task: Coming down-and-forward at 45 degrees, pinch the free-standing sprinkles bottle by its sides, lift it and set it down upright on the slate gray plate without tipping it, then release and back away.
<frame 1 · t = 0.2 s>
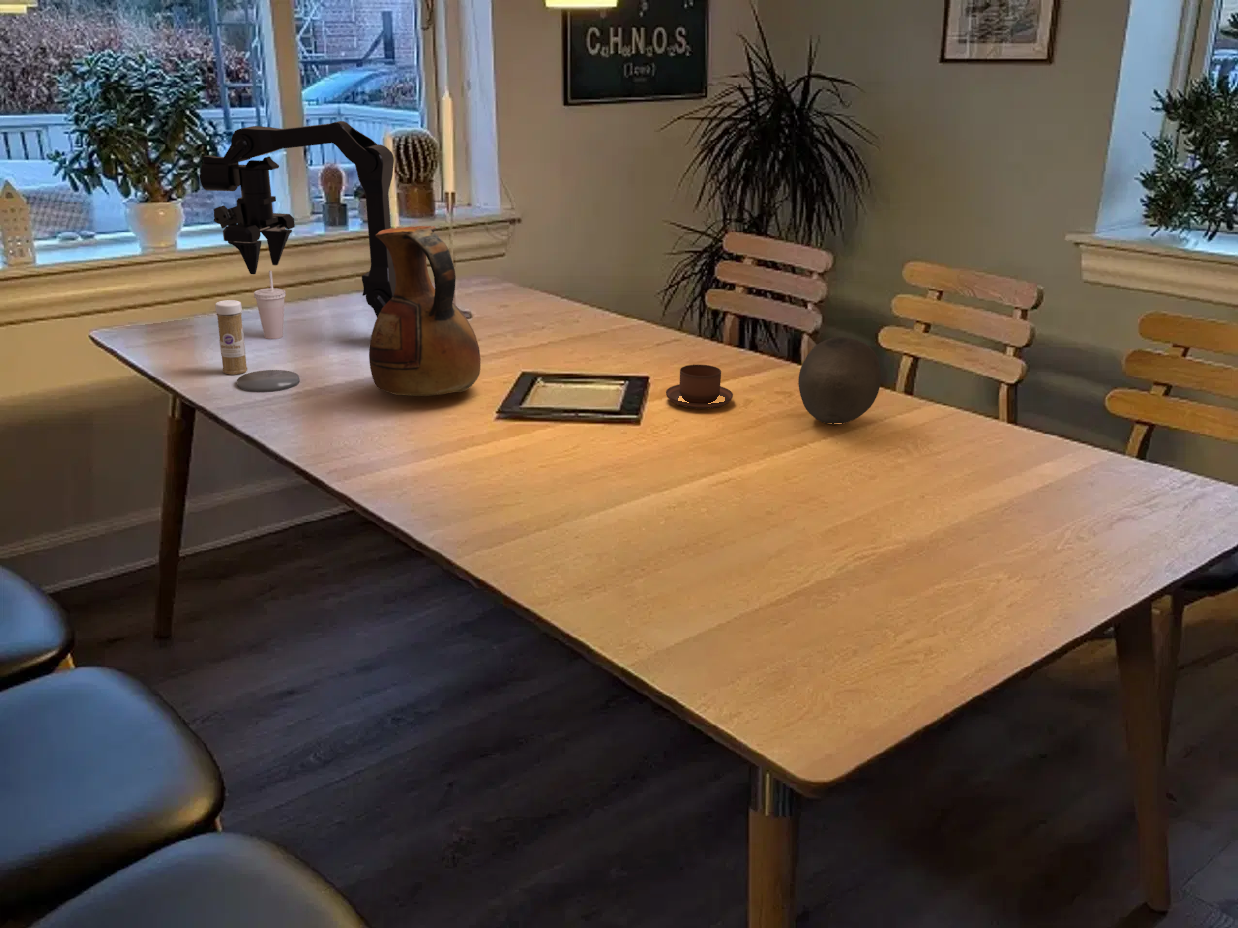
hand: (264, 269, 229), 14 cm above the table, tool pointing down, fingers open, 9 cm apart
cup and saucer: (698, 404, 200), on the table
slate gray plate: (268, 382, 205), on the table
ceramic pitcher: (427, 393, 202), on the table
sprinkles bottle: (235, 372, 211), on the table
smoothie: (273, 337, 235), on the table
dark charcoal ball: (835, 425, 190), on the table
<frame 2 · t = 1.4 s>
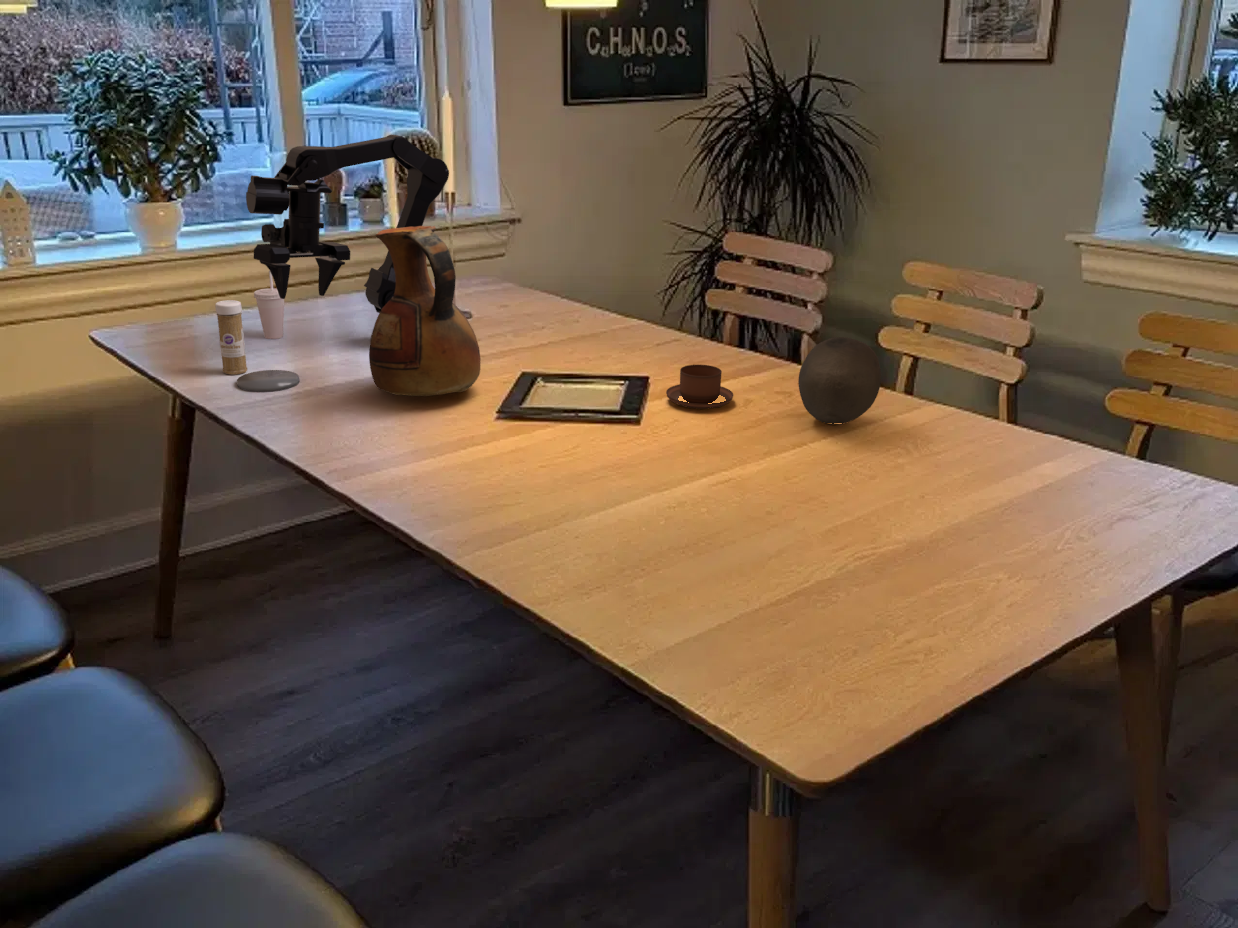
hand: (302, 297, 216), 12 cm above the table, tool pointing down, fingers open, 9 cm apart
nothing on the table moved.
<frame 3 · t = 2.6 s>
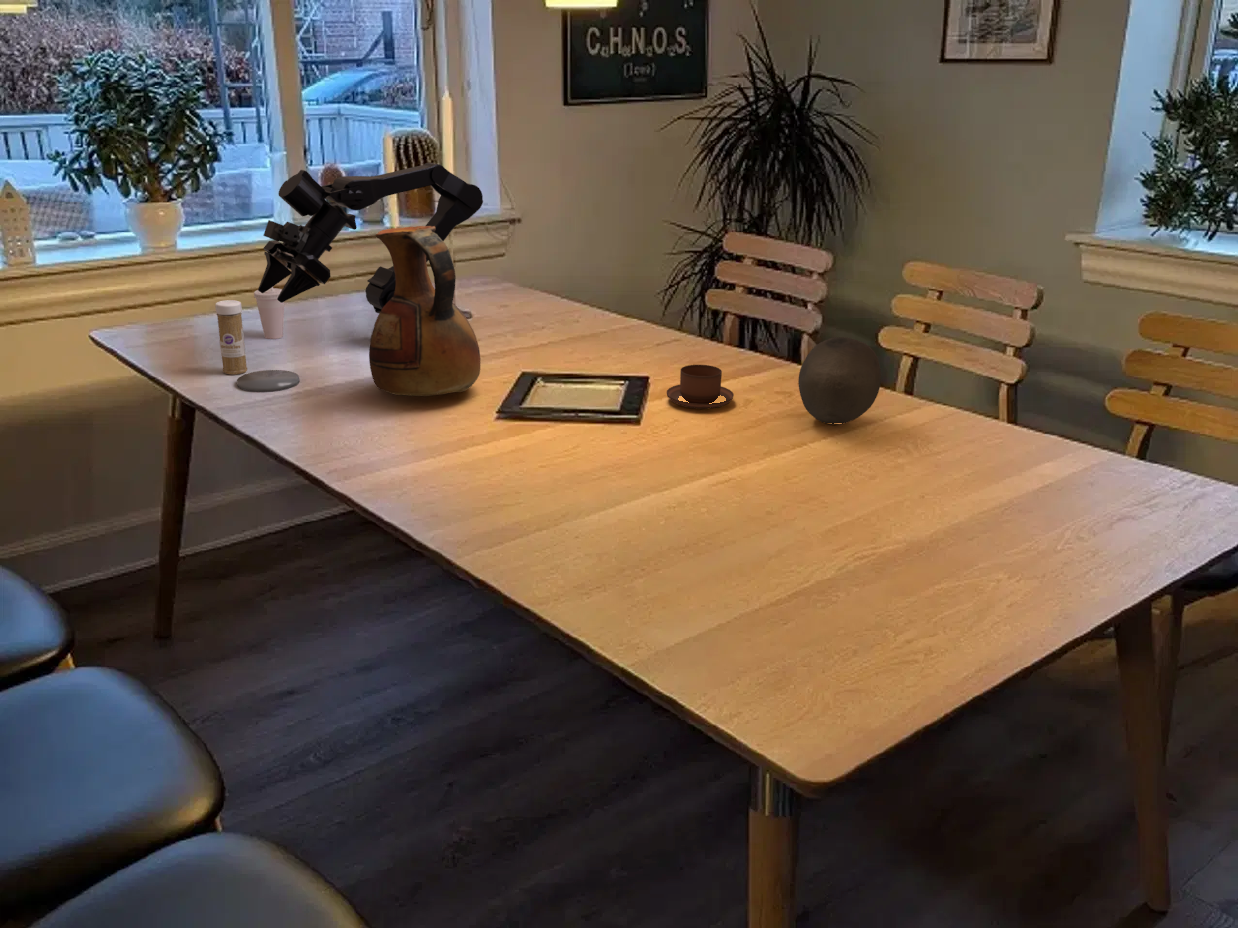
hand: (269, 296, 211), 13 cm above the table, tool tilted 45°, fingers open, 9 cm apart
nothing on the table moved.
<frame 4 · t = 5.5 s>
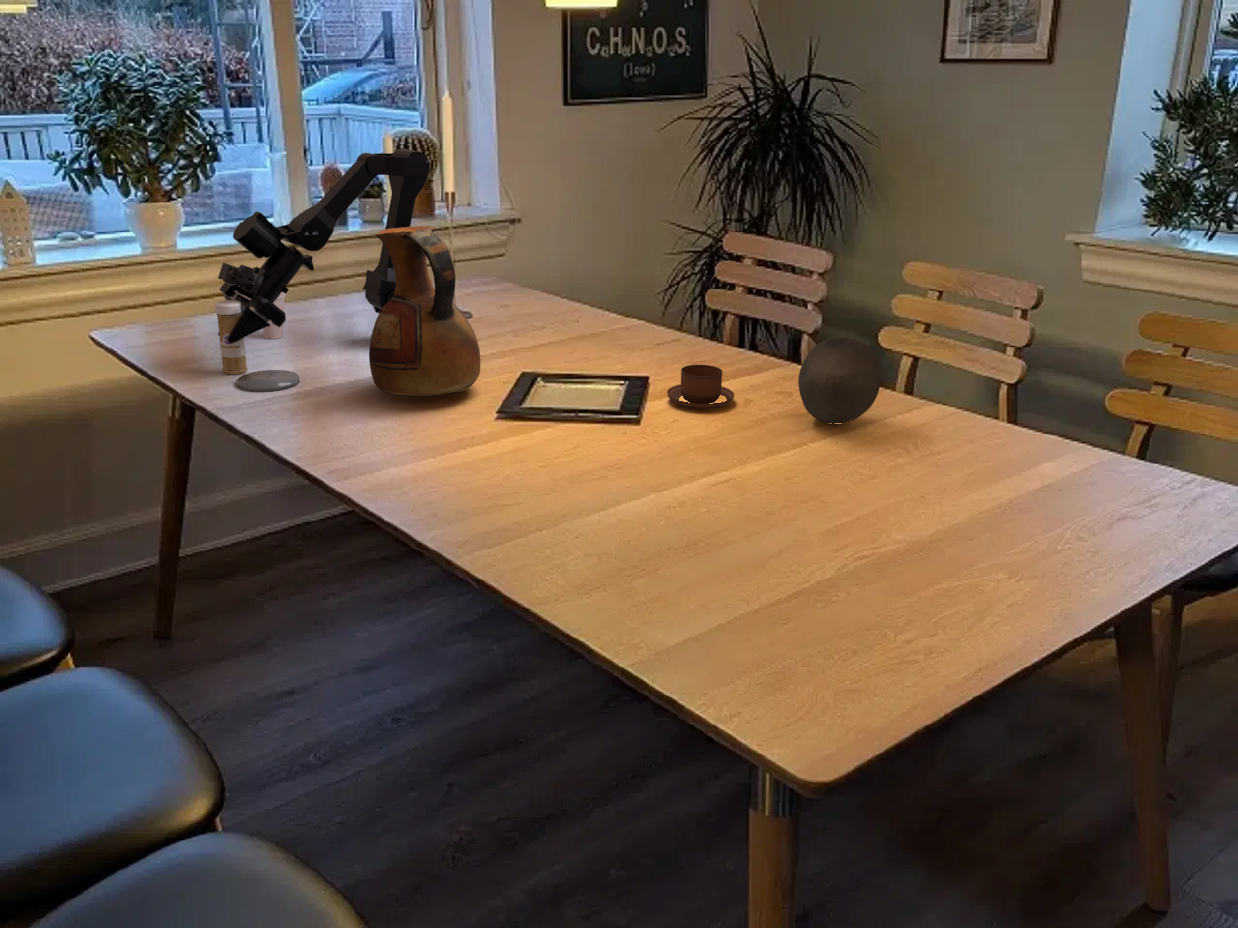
hand: (224, 339, 208), 7 cm above the table, tool tilted 45°, fingers closed on sprinkles bottle, 4 cm apart
sprinkles bottle: (235, 372, 211), on the table, touching gripper
everything else where it was.
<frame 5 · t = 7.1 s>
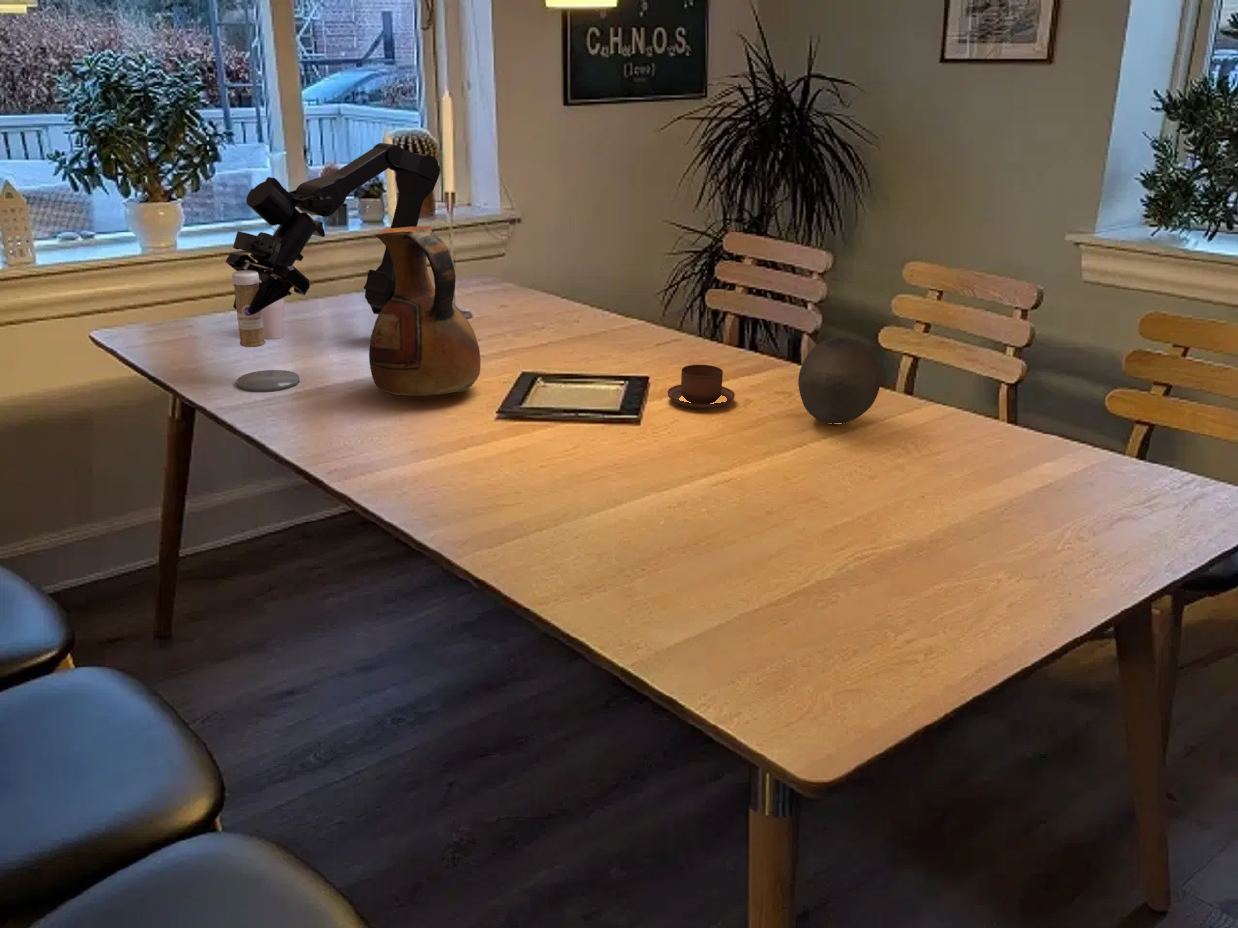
hand: (242, 311, 201), 13 cm above the table, tool tilted 45°, fingers closed on sprinkles bottle, 4 cm apart
sprinkles bottle: (253, 345, 205), point 6 cm above the table, touching gripper
everything else where it was.
when the fingers open (8 cm above the table, at t = 8.6 s): sprinkles bottle stays where it is, resting on slate gray plate.
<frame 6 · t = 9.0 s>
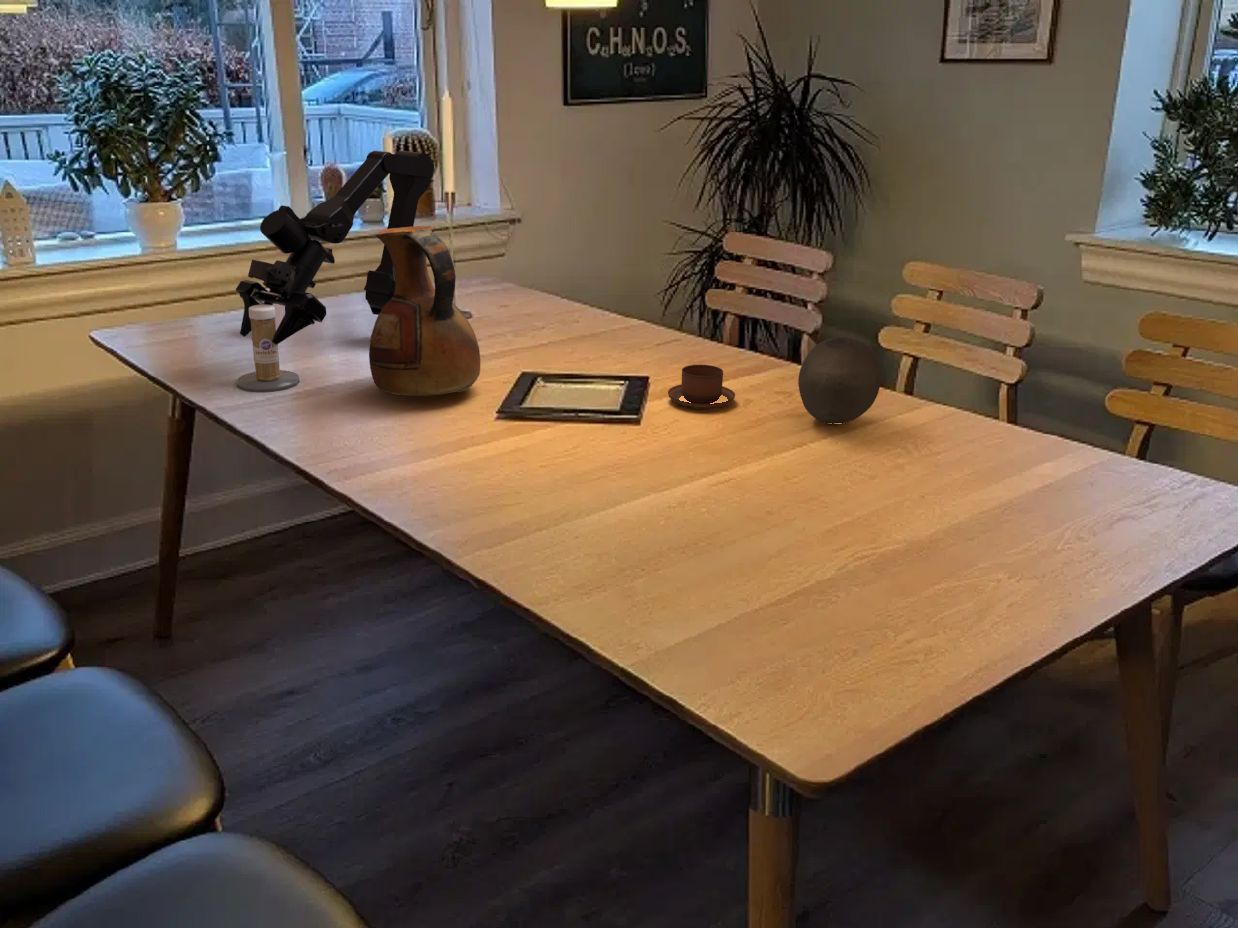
hand: (257, 339, 201), 9 cm above the table, tool tilted 45°, fingers open, 8 cm apart
sprinkles bottle: (268, 379, 205), point 1 cm above the table, touching slate gray plate
everything else where it was.
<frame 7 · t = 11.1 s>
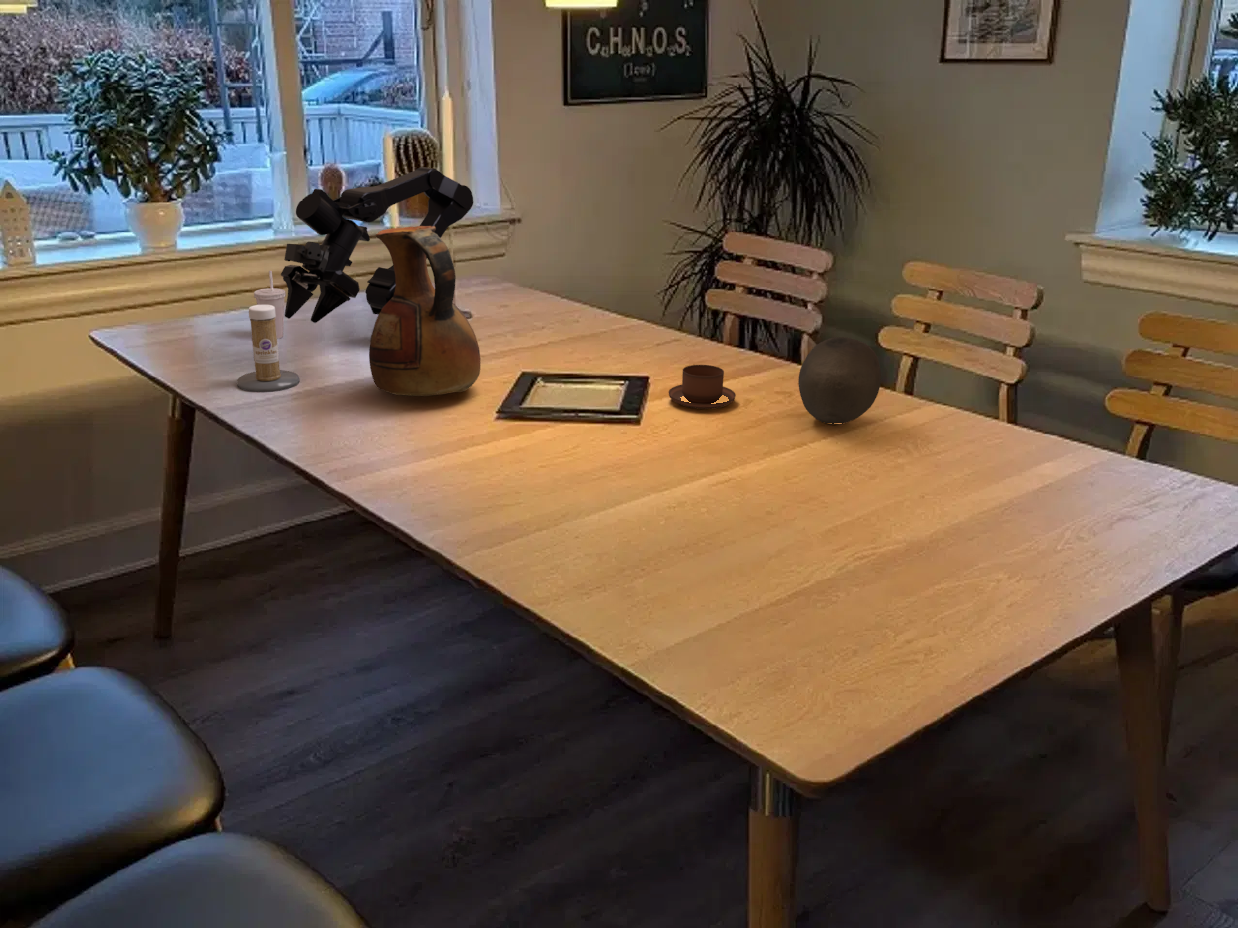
hand: (299, 319, 209), 10 cm above the table, tool tilted 40°, fingers open, 9 cm apart
nothing on the table moved.
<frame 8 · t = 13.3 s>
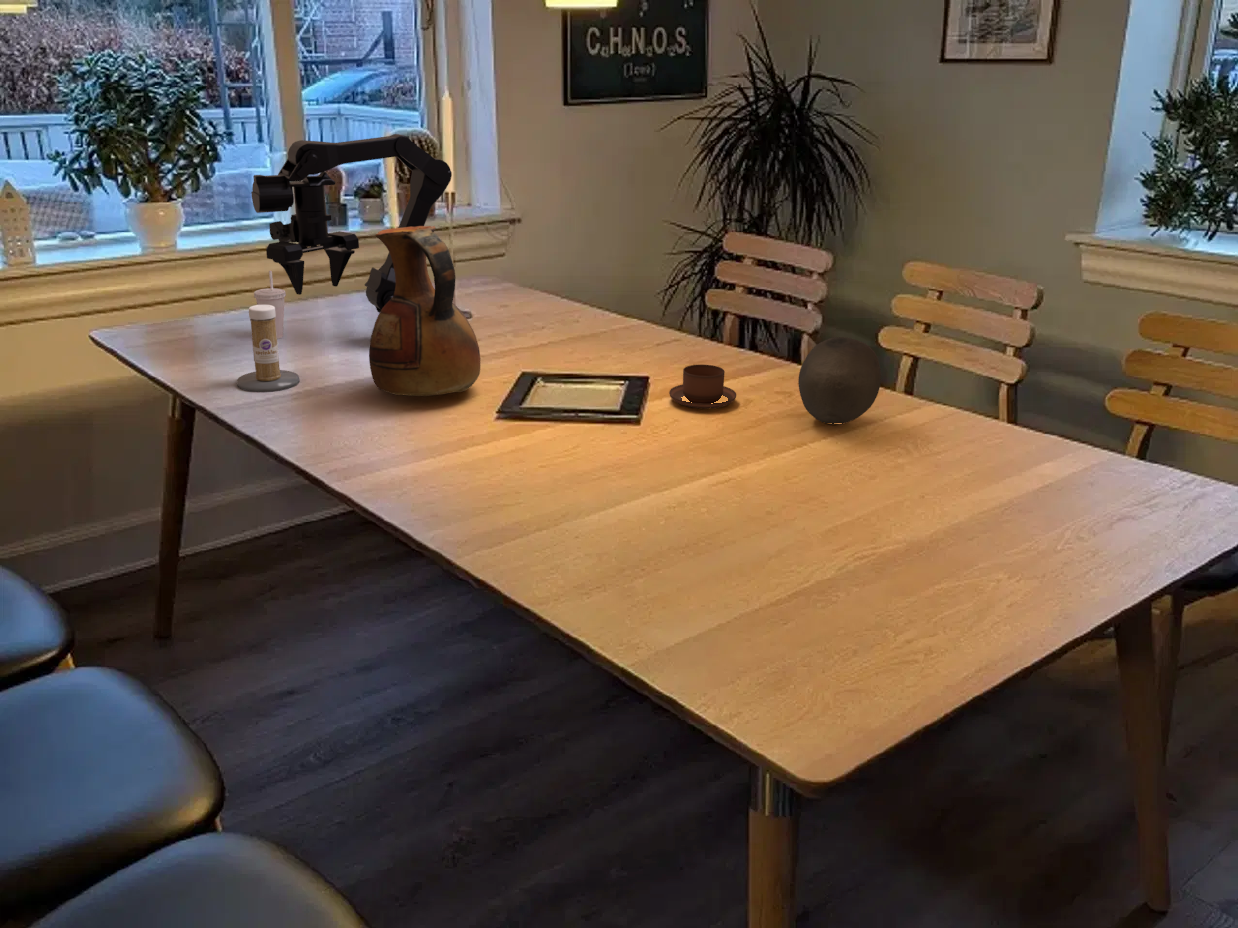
hand: (317, 290, 218), 13 cm above the table, tool pointing down, fingers open, 9 cm apart
nothing on the table moved.
at the end: sprinkles bottle 0.2 cm from the slate gray plate (horizontally); sprinkles bottle tilted 0°; the gripper is holding nothing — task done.
